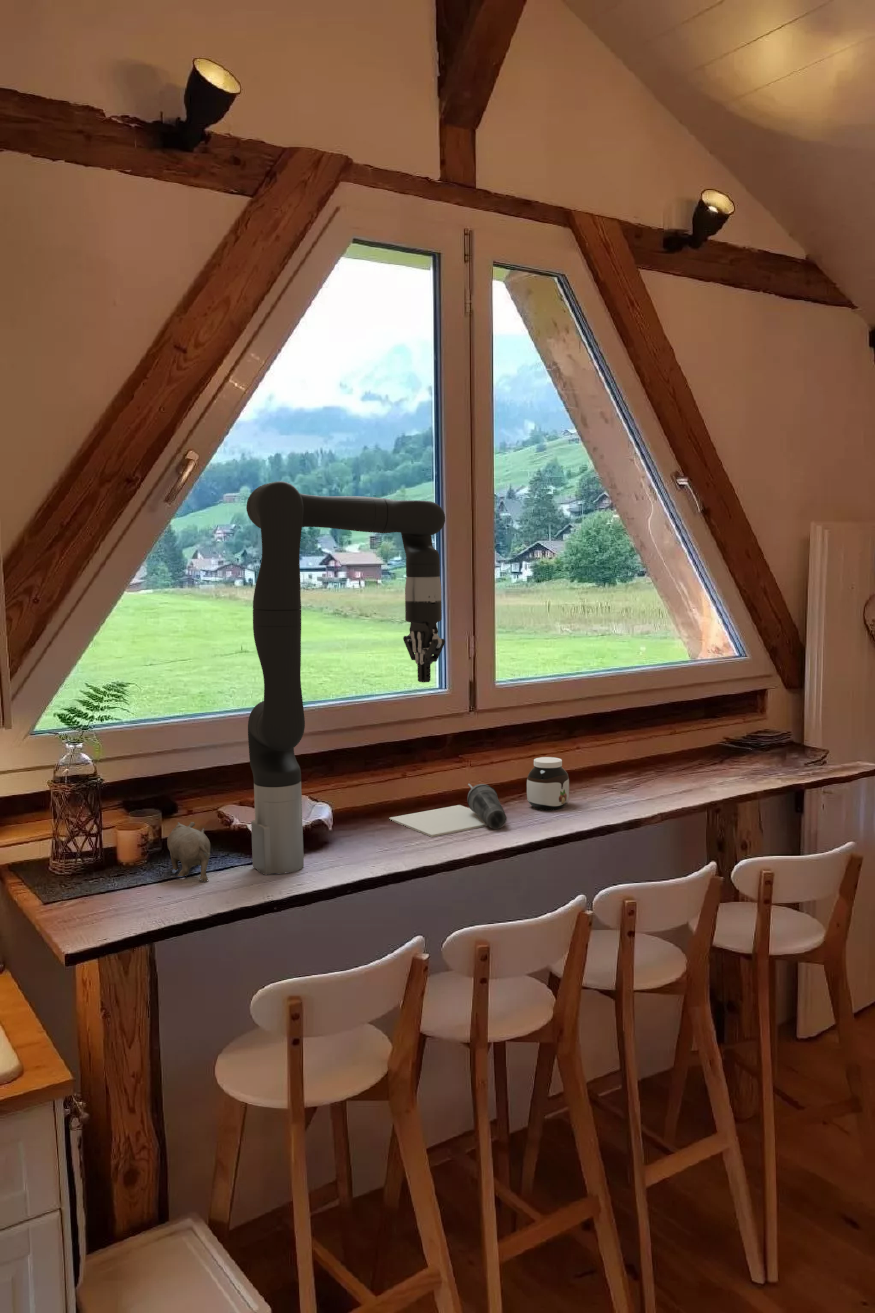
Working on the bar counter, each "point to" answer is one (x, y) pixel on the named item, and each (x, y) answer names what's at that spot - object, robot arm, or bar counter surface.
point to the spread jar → (548, 784)
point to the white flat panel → (441, 820)
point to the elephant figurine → (189, 849)
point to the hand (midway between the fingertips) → (424, 681)
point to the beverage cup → (486, 805)
